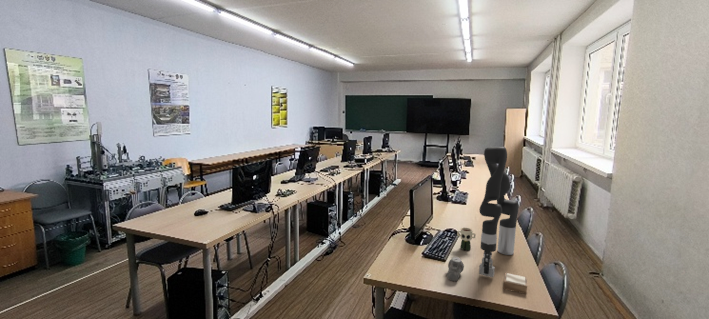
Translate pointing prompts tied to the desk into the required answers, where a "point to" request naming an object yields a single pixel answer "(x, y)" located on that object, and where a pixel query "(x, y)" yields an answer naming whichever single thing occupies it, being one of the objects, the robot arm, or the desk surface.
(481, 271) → the padlock
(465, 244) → the character mug
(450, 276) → the pipe fitting
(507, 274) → the base
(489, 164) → the robot arm
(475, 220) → the desk surface
